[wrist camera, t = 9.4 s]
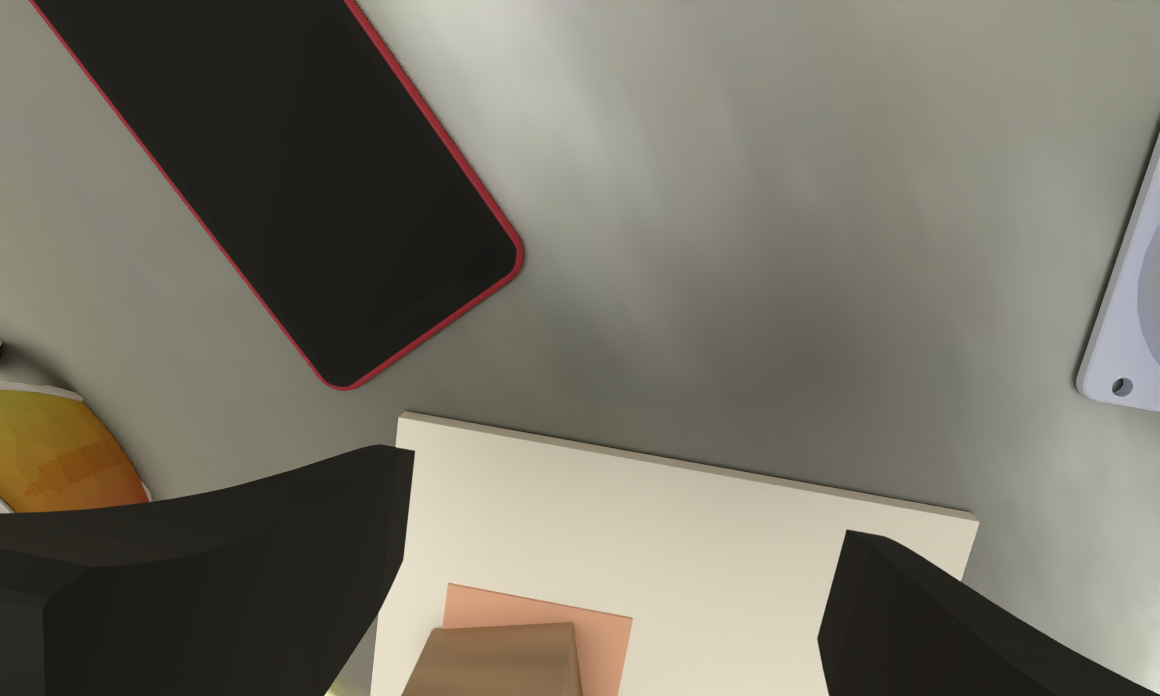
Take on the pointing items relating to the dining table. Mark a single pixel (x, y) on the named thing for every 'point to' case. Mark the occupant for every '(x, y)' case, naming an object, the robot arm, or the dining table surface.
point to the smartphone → (302, 166)
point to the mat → (631, 560)
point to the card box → (498, 662)
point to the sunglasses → (59, 454)
